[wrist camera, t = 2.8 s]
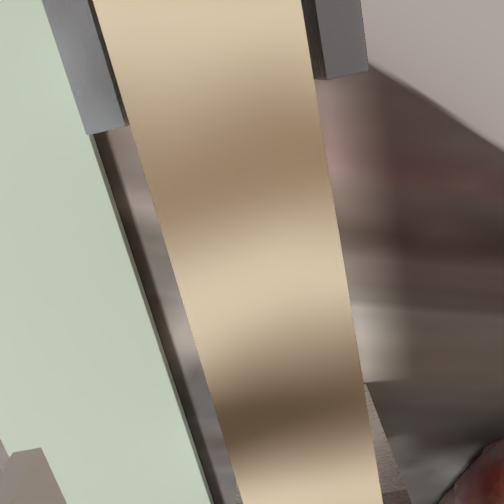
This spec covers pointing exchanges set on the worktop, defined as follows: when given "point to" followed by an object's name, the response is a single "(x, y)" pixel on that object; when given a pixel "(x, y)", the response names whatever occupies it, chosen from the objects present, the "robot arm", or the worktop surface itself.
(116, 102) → the post
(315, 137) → the rail
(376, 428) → the post
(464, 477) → the food
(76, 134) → the mat
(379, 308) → the worktop surface
